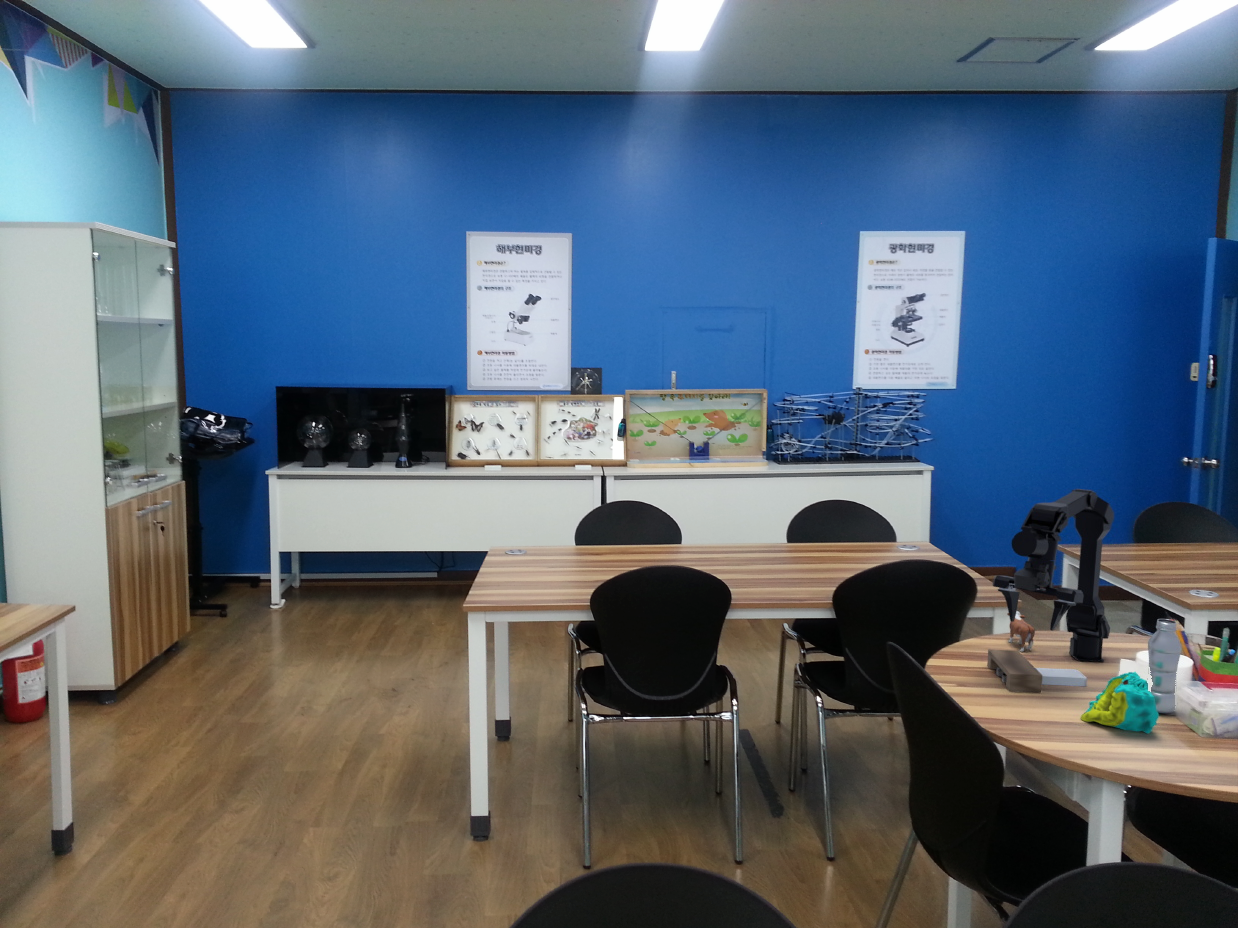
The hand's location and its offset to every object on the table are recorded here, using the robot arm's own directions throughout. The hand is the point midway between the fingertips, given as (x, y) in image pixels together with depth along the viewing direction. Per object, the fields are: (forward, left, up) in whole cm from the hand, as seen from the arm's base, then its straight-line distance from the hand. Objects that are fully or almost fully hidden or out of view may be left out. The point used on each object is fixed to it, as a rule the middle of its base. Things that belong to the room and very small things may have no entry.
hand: (1031, 625), depth 219 cm
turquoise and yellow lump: (-12, +22, -15) cm, 29 cm away
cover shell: (-8, -4, -14) cm, 17 cm away
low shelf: (+2, -4, -14) cm, 15 cm away
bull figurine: (-7, -31, -15) cm, 35 cm away
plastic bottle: (-23, +13, -14) cm, 30 cm away
